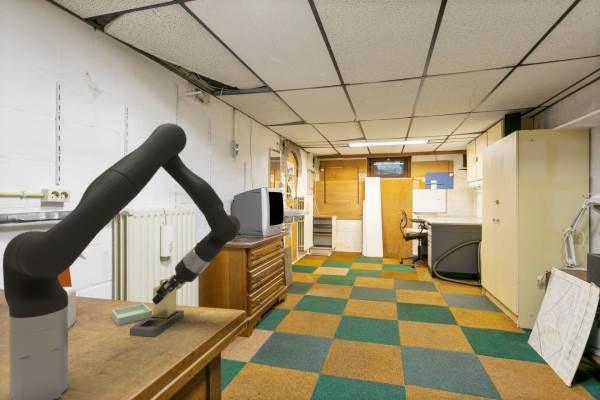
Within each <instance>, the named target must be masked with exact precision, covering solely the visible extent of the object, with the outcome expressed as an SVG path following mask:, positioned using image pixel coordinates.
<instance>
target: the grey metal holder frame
mask: <svg viewBox="0 0 600 400" xmlns="http://www.w3.org/2000/svg"><path fill="white" fill-rule="evenodd" d="M184 316H185V311H184V309H183V310H181V309H180V310H179V309H176V314H175V315H174V316H172V317H171V318H169V319H158V318H153V314H152V316H150V317H148V318H147V319H145V320H143V321H139V322H137V323H136V324H135V325H133V326H131V327H130V328H129V336H133V337H134V336H136V337H147V338H155V337H157V336H158V335H160V334H161V333H163V332H164V331H165V330H167V329H168V328H170V327H171V326H172V325H174V324H176V323H177V322H178V321H179V320H182V319H183V318H184Z"/></svg>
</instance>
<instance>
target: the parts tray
mask: <svg viewBox="0 0 600 400" xmlns="http://www.w3.org/2000/svg"><path fill="white" fill-rule="evenodd" d="M152 315H153V309H151V308H149V307H148V305H146V304H145V303H138V304H134V305H128V306H125V307H120V308H119V307H118V308H114V309H111V318H112V320H113V321H114V323H115V325H116V326H117V327H121V326H125V325H129V324H135V323H139V322H142V321H143V320H145V319H147V318H148V317H150V316H152Z"/></svg>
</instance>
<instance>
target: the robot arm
mask: <svg viewBox="0 0 600 400" xmlns="http://www.w3.org/2000/svg"><path fill="white" fill-rule="evenodd" d="M187 140H188V139H187V135H186V132H185V130H184V129H183V128H182V127H181V126H179V125H178V124H175V123H171V122H170V123H169V122H168V123H167V122H165V123H163V124H159V125H158V126H157V127H155V129H154V130H153V131H152V132H151V134H150V135H148V138H147V139H146V140H144V141H143V143H142V144H140V145H139V146H138V147H137V148H135V149H134V150H132V151H131V152H130V153H128V154H127V155H125V156H123V157H121V159H119V160H118V161H116V162H115V163H114V164H113V165H111V166H109V167H108V168H107V169H106V170H105V171H103V172H102V173H101V174H100V175H98V176H97V177H96V178H94V179H93V180H92V181H91V182H90V183H89V185H88V186H87V187H86V188H85V191H84V192H83V194H82V196H81V198H80V200H79V202H78V204H77V205H76V207H75V208H74V209H73V210H72V211H71V212H70V213H69V214H68V215H66V216H65V217H64V218H62V220H60V221H58V223H56V224H55V225H54V226H52V227H51V228H49V229H47V230H46V231H44V230H43V231H42V230H39V231H38V230H30V231H25V232H22V233H19V234H18V235H16V236H14V237H13V238H12V239H10V241H9V242H8V243H7V244H6V247H5V249H4V252H3V255H2V279H3V293H4V298H5V302H6V303H7V306H8V310H9V311H8V313H9V314H8V317H9V318H8V320H9V322H8V323H9V324H8V325H9V331H8V338H9V339H8V340H9V341H8V343H9V345H8V348H9V351H8V353H9V357H8V359H9V366H8V367H9V368H8V369H9V400H57V399H60V398H61V397H62V395H63V393H64V392H65V391H66V390H67V389H68V387H69V328H68V294H67V292H66V290H65V289H64V288H63V287H62V286H61V284H60V282H59V279H58V275H59V274H61V273H63V272H64V271H66V270H67V269H68V268H70V267H71V266H73V264H74V263H75V261H76V260H77V259H78V258H80V257H79V256H80V255H81V254H82V253H83V252H84V251H85V250H86V249H87V248H88V246H89V245H90V244H91V242H92V241H93V240H94V239H95V237H97V235H98V234H99V233H100V232H101V231H102V230H103V229H104V228H105V227H106V226H107V225H108V224H109V223H110V222H111V221H113V219H115V217H116V216H117V215H118V214H119V213H121V211H122V210H124V209H125V208H126V207H127V206H128V205H129V204H130V203H131V202H132V201H133V200H134V199H135V198H136V197H137V196H138V195H139V194H140V193H141V192H142V191H143V189H145V188H146V186H147V185H148V184H149V183H150V181H151V180H152V179H153V177H154V176H155V175H156V173H157V172H158V171H159V170H160V168H162V169H163V170H164V171H166V174H168V175H169V176H170V177H171V178H172V179H173V180H174V181H175V182H176V183H177V184H178V185H179V186H180V187H181V188H182V189H183V190H184V191H185V193H186V194H187V195H188V196H189V197H190V198H191V200H192V201H193V203H194V204H195V206H196V207H197V208H198V209H199V211H200V213H202V215H203V216H204V218H205V220H206V222H207V224H208V227H209V228H210V231H209V232H208V233H207V234H206V235H205V236H204V237H203V238H202V239H201V240H199V242H198V243H197V244H196V245H195V246H194V247H193V248H192V249H191V250H189V251H188V252H187V253H186V254H185V255H184V257H183V258H182V259H180V261H179V262H178V263H177V264H176V265H175V267H174V271H175V274H173V275H172V276H170V277H169V280H168V281H167V280H166V281H165V282H164V283H163V284H162V285H161V287H160V288H159V289H158V290H157V292H156V293H157V295H156V296H155V297H154V298H152V300H151V301H152V303H153V302H154V303H155V304H158V303H159V302H160V301H161V300H162V299H163V298H164V297H165V296H166V295H167V294H168V293H171V292H173V291H174V290H175V289H176V292H177V291H178V290H180V289H181V288H182V287H183V286H184V285H185V284H186V283H193V282H194V281H195V280H196V279H197V278H198V277H199V276H200V275H201V273H203V272H204V271H205V269H207V268H208V267H209V265H210V263H212V261H213V260H214V259H215V258H216V257H217V256H218V255H219V254H220V252H221V251H222V249H223V248H224V247H225V246H226V244H228V243H230V242H232V241H233V240H235V238H236V237H237V235H238V233H240V229H241V222H240V220H239V218H238V217H237V216H235V215H229V214H228V213H227V211H226V210H225V208H224V205H225V204H224V202H223V201H222V199H221V198H220V196H219V195H218V193H216V191H215V190H214V188H213V187H212V186H211V185H210V184H209V182H207V181H206V180H205V179H204V178H202V177H201V176H199V175H197V174H196V173H194V171H192V170H191V169H190V168H189V167H187V165H186V164H185V163H184V161H183V160H182V158H181V157H180V153H182V152H183V151H184V149H185V147H186V146H187ZM171 288H172V290H171Z"/></svg>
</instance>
